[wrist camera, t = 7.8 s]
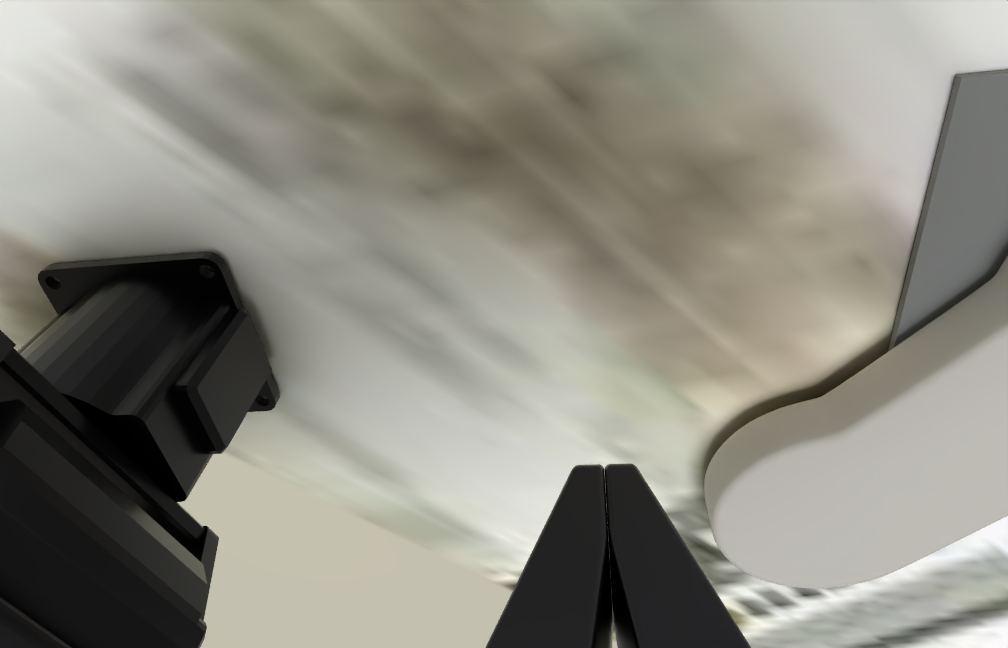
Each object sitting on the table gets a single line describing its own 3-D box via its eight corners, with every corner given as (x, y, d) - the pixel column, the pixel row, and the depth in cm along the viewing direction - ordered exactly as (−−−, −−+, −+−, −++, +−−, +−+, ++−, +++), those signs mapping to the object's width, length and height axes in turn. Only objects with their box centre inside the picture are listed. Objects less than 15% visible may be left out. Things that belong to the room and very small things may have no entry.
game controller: (657, 479, 26) (801, 569, 28) (664, 527, 24) (817, 619, 26) (1230, 63, 16) (1373, 254, 19) (1316, 90, 14) (1463, 299, 17)
